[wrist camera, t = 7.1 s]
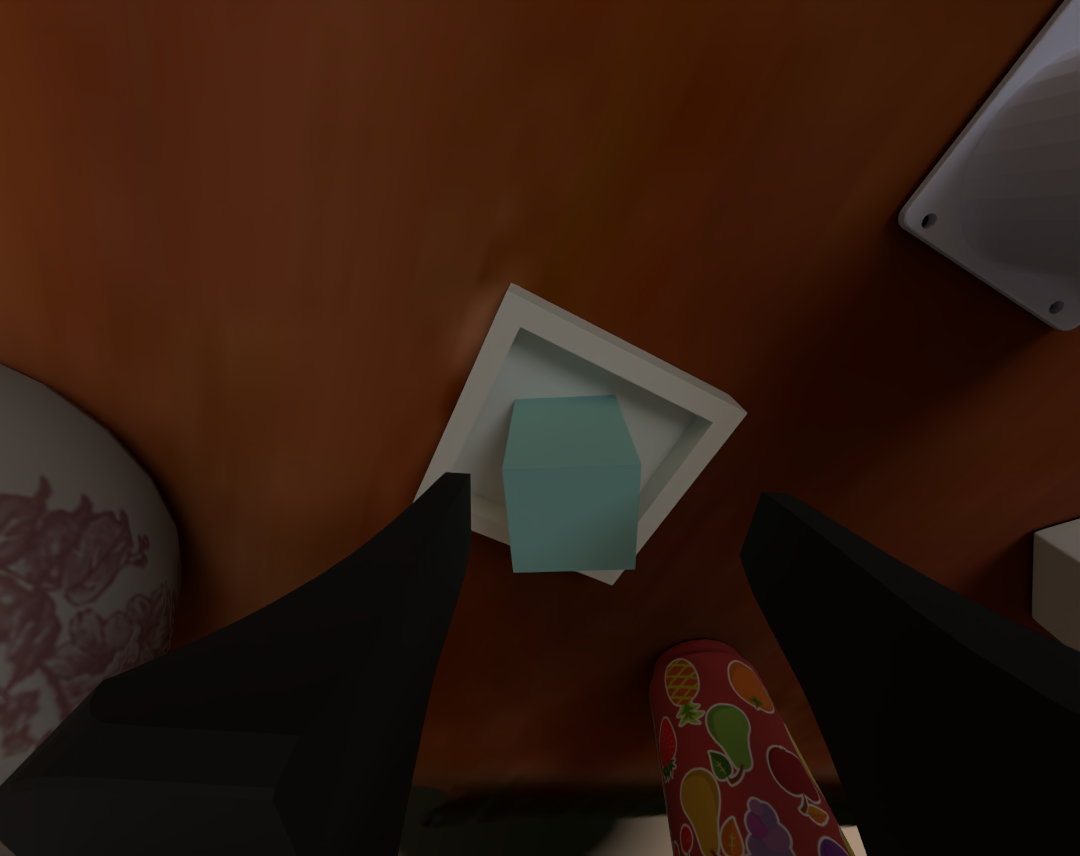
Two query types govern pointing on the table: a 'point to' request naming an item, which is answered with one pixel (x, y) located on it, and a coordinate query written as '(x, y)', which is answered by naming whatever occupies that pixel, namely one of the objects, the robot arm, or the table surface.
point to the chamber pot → (73, 563)
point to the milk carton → (1058, 581)
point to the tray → (570, 371)
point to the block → (571, 485)
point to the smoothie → (732, 762)
